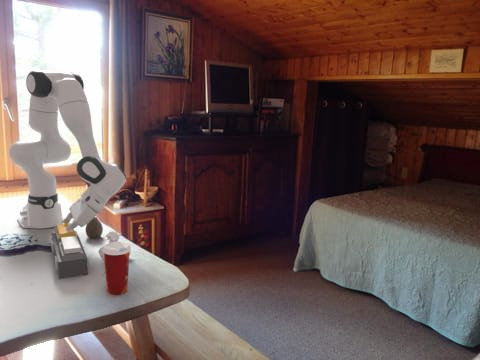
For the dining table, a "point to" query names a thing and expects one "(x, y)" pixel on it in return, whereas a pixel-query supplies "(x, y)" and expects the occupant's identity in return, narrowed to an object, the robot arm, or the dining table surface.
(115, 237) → the bust
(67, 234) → the amber switch
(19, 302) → the dining table surface
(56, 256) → the power strip
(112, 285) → the coffee cup
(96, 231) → the vase
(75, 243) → the white flat block
